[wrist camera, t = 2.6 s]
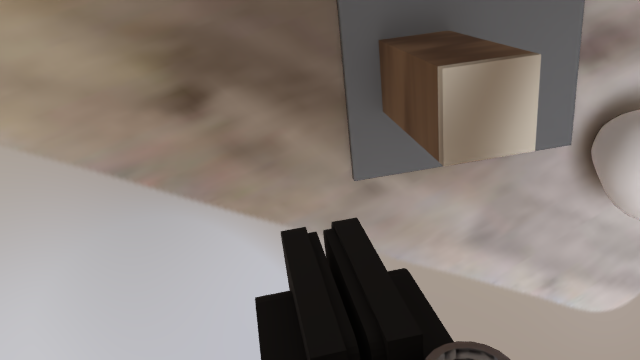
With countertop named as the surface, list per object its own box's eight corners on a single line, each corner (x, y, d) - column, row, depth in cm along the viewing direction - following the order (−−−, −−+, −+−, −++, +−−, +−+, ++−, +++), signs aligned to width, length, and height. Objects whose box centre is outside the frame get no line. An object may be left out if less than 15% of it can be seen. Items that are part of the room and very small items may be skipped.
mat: (586, -66, 27) (590, -66, 27) (567, 143, 32) (571, 145, 32) (333, -36, 26) (335, -36, 26) (352, 178, 31) (354, 181, 30)
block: (449, 30, 28) (541, 54, 20) (449, 101, 29) (535, 151, 21) (378, 40, 27) (442, 68, 19) (382, 111, 29) (443, 166, 21)
